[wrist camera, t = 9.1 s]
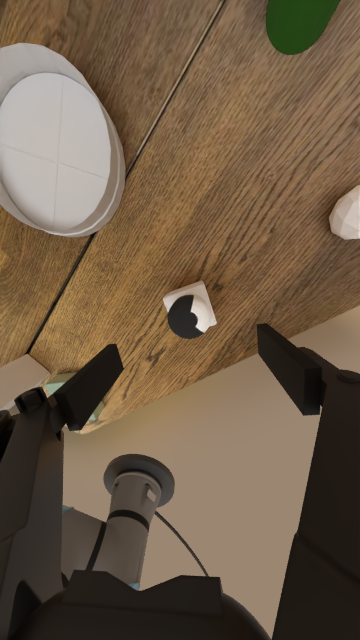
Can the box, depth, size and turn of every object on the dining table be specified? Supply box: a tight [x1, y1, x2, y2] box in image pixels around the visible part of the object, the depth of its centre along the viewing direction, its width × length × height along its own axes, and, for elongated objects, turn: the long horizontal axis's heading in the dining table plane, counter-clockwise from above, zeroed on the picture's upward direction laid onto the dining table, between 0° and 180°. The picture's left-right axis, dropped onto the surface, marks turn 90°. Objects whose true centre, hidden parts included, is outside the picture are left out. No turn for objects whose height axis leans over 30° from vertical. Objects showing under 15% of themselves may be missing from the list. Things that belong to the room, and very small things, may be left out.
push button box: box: [45, 372, 104, 420], centre depth 41 cm, size 11×9×6 cm
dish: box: [0, 43, 126, 237], centre depth 28 cm, size 22×22×5 cm
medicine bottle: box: [163, 281, 217, 339], centre depth 29 cm, size 7×7×12 cm
